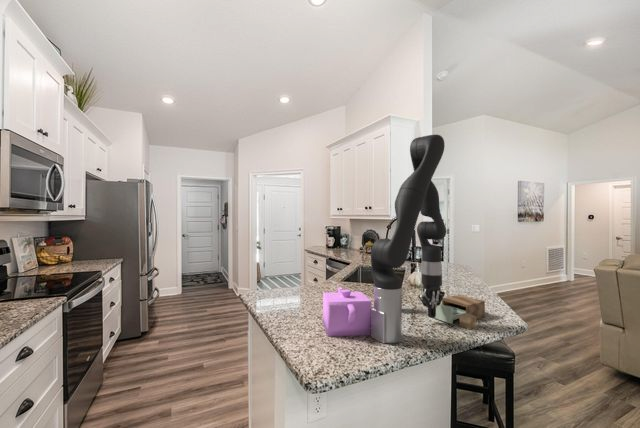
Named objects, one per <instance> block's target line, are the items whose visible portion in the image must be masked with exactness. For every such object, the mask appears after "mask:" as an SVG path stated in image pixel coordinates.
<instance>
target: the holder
mask: <svg viewBox="0 0 640 428" xmlns="http://www.w3.org/2000/svg"><path fill="white" fill-rule="evenodd" d="M485 303H486V302H485V300H481V299H478V298H477V299H476V298H475V297H474V298H473V297H470V296H469V297H468V296H464V295H460V294H457V295H452V296H451V295H450V296H447V297H443V299H442V301H441V305H445V306H448V305H449V306H452V307H456V308H459V309H462V310H466V314H469V315H473V316H476V320H477V319H479V318H480V319H481V318H484V317H485V316H486V314H485V313H486V310H485V309H486V307H485V306H486V304H485Z"/></svg>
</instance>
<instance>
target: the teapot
mask: <svg viewBox="0 0 640 428" xmlns="http://www.w3.org/2000/svg"><path fill="white" fill-rule="evenodd" d="M322 295H323V297H322V300H323V301H322V324H323V327H324V330H325V331H326V332H325V333H326V335H327V337H344V336H345V337H347V336H350V337H351V336H370V335H371V311H372V300H371V299H370V298H368V296H366V295H365V294H364V293H363V292H362V291H352V290H350V289H343V288H342V287H341V286H338V287H337V292H333V291H331V292H323V294H322Z"/></svg>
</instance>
